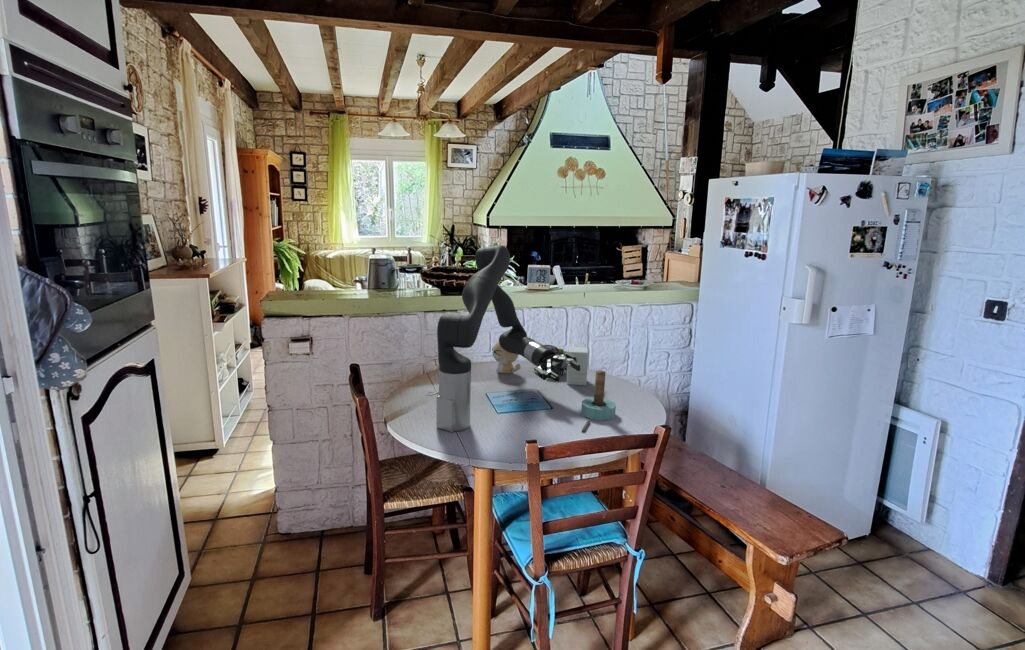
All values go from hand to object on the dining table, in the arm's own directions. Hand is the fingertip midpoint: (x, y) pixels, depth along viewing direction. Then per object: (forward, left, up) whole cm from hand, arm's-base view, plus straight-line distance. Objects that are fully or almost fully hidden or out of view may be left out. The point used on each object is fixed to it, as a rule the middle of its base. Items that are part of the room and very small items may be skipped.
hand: (569, 373), depth 181 cm
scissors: (-13, +38, -12) cm, 42 cm away
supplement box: (+25, +10, -12) cm, 29 cm away
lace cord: (-11, -13, -11) cm, 20 cm away
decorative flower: (+30, +23, -12) cm, 40 cm away
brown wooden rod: (+1, -11, -11) cm, 16 cm away
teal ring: (+1, -11, -11) cm, 16 cm away
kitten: (+17, +38, -12) cm, 43 cm away
